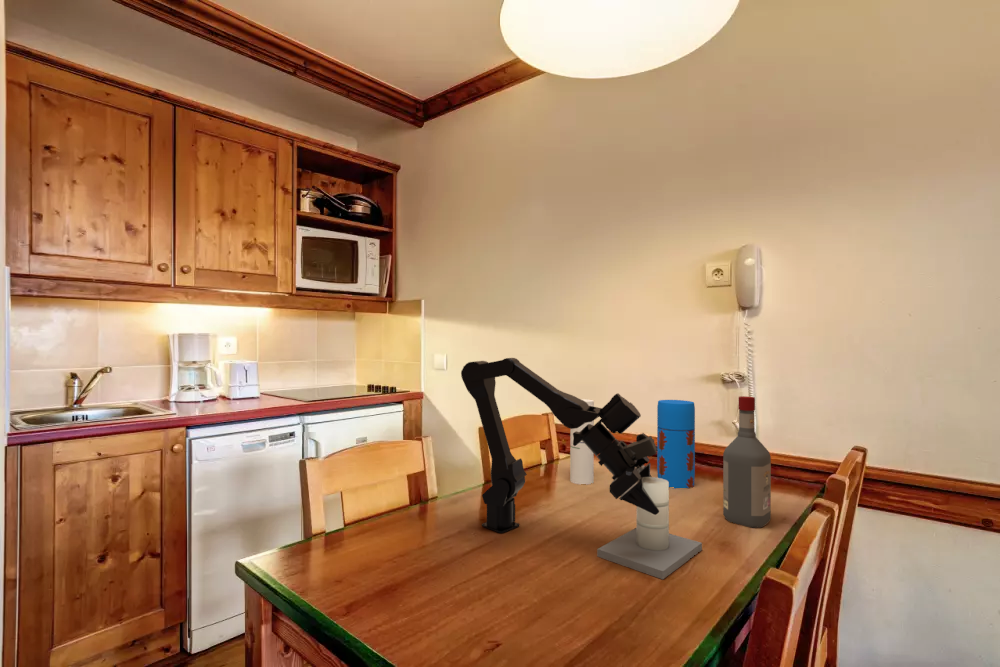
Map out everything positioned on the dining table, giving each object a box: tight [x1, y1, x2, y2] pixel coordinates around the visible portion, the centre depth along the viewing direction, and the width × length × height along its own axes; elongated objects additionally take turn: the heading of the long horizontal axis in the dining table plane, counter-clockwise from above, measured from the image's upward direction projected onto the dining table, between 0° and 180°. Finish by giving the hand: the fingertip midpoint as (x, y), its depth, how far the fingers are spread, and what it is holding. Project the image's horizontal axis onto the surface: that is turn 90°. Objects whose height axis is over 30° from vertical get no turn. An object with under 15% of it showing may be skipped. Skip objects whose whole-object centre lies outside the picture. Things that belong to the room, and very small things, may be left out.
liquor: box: [722, 395, 772, 528], centre depth 122 cm, size 9×9×30 cm
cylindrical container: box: [569, 398, 595, 485], centre depth 155 cm, size 7×7×25 cm
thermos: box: [656, 399, 696, 489], centre depth 153 cm, size 11×11×25 cm
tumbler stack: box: [635, 476, 670, 550], centre depth 104 cm, size 6×6×13 cm
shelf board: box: [596, 527, 703, 580], centre depth 103 cm, size 18×14×2 cm
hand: (659, 506), depth 103 cm, fingers open, 9 cm apart
